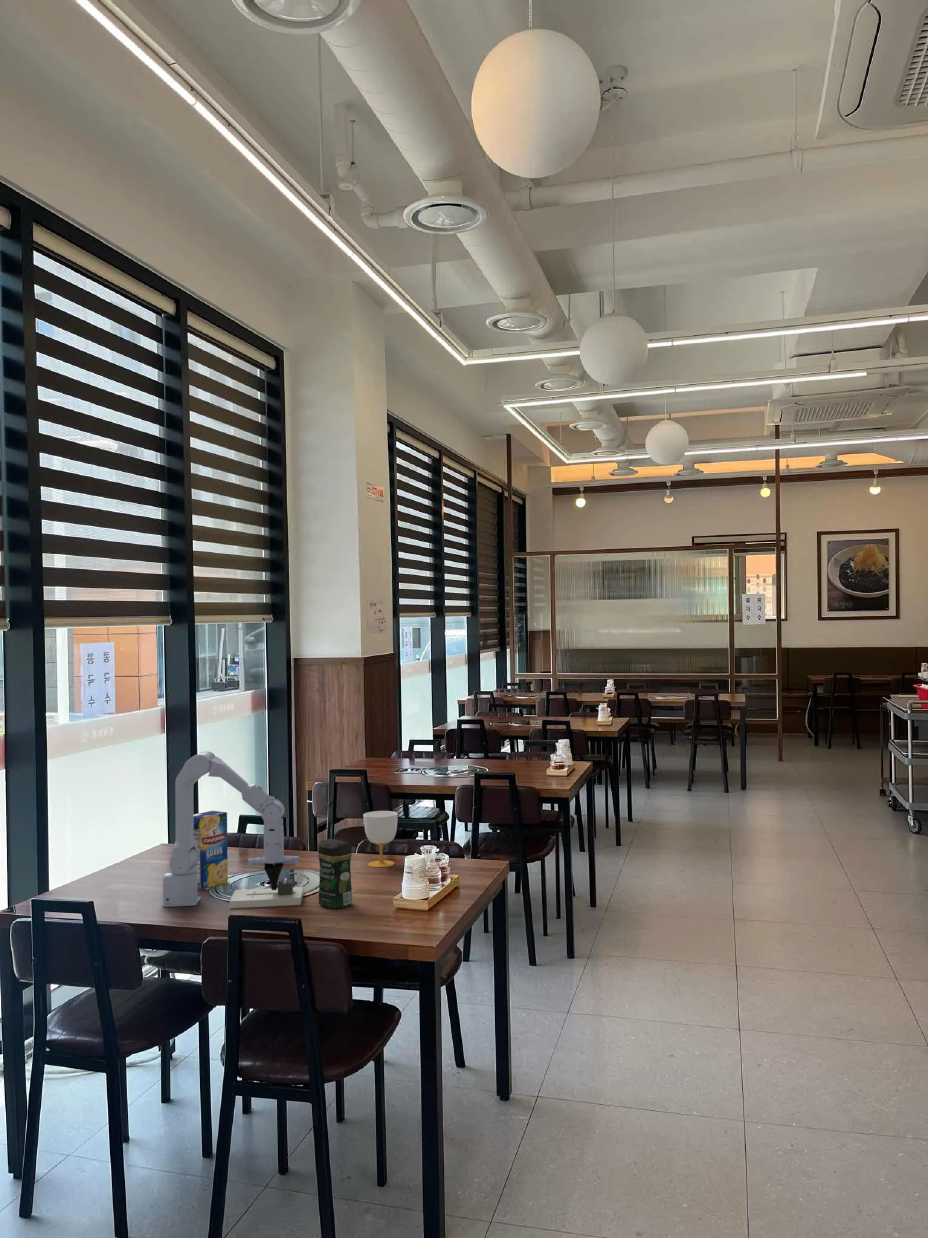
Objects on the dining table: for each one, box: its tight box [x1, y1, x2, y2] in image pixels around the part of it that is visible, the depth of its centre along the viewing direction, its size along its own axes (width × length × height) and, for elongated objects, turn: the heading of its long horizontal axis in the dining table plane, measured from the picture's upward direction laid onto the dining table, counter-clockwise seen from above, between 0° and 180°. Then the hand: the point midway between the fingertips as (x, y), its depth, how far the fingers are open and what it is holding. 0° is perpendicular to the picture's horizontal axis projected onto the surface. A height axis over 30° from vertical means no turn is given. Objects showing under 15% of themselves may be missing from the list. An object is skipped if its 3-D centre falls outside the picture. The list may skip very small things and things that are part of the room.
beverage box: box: [194, 810, 229, 891], centre depth 283 cm, size 7×11×22 cm, turn 147°
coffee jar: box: [317, 838, 353, 910], centre depth 258 cm, size 10×8×19 cm
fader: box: [277, 877, 294, 895], centre depth 264 cm, size 4×5×3 cm
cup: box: [362, 810, 399, 869], centre depth 305 cm, size 12×12×17 cm
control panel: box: [229, 886, 304, 909], centre depth 263 cm, size 20×12×2 cm, turn 96°
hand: (274, 889), depth 263 cm, fingers closed
